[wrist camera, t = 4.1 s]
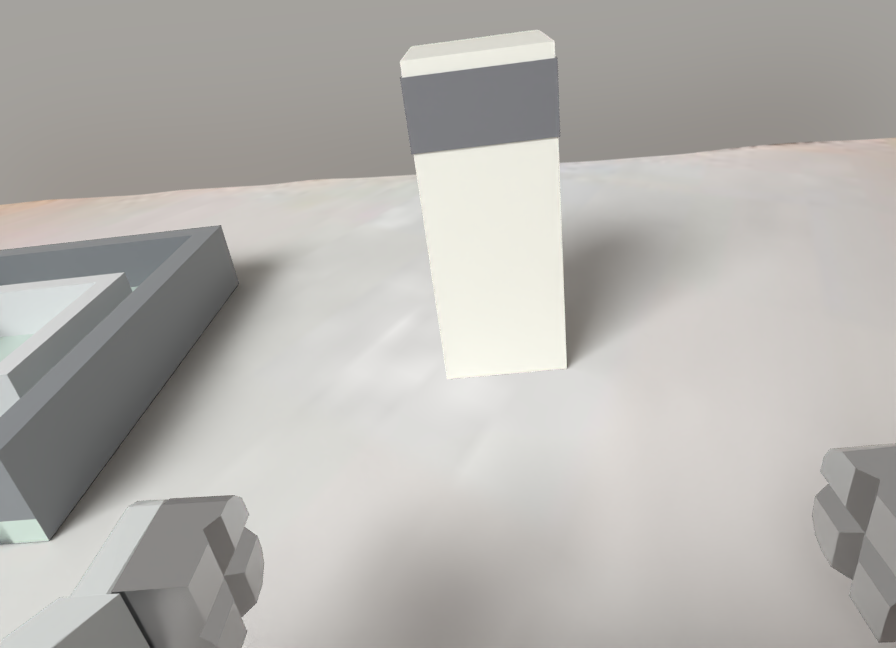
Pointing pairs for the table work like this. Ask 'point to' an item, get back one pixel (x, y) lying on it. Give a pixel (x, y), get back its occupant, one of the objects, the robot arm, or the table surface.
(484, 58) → the plastic plug
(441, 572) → the table surface
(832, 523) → the robot arm
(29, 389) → the walled box
